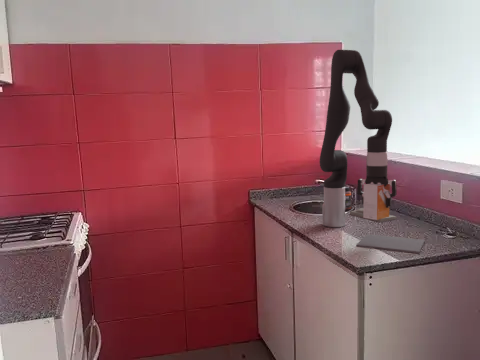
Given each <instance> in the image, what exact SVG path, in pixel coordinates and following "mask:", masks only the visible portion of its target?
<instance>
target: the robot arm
mask: <svg viewBox="0 0 480 360" xmlns="http://www.w3.org/2000/svg"><path fill="white" fill-rule="evenodd" d="M330 65H331V66H330V67H331V68H330V88H329V89H330V90H329V96H328V97H329V98H328V105H327V111H326V121H325V122H326V124H325V130H324V135H323V140H322V141H323V142H322V144H321V145H322V146H321V149H320V153H319V167H320V170H321V171H322V172H324V173H331V175H329V177H326V178H325V180H324V181H323V203H322V207H321V208H322V209H321V211H322V212H321V213H322V215H321V217H322V218H321V220H322V221H321V222H322V226H325V227H329V228H341V227H344V226H346V210H345V187H346V182H347V179H348V177H347V176H348V157H347V156H348V155H347V154H346V152H345V151H344V150H342V149H337V150H336V147H337V142H338V140H339V138H340V136H341V135H342V134H343V131H344V130H345V129H346V128H347V126H348V123H349V120H350V113H351V104H350V101H349V97H348V96H347V94H346V91H345V88H344V85H343V84H344V83H343V82H344V74H352V75H353V76H354V78H355V86H354V88H353V89H354V90H353V92H354V93H353V94H354V97H355V99H356V100H355V101H356V103H357V104H358V106H359V108H360V115H361V123H362V126H363V127H364V128H365V129H367V130H369V131H371V130H372V131H373V130H377V131H376V133H375V134H374V135H371V136H369V137H367V140H366V141H367V142H366V151H367V152H366V162H365V163H366V166H365V167H366V168H365V169H366V171H365V173H366V174H365V175H366V177H365V178H364V179H363V178H359V179H357V191H356V193H357V195H358V196H361V199H362V200H361V202H362V203H361V204H362V205H363V203H364V191H363V186H364V184H378V185H382V184H383V185H384V187H386V185H387V184H388V183H389V184H390V187H391V192H389V190H386V189H385V188H384V187H383V193H384V194H385V195H386V196H387V198H386V208H389V209H390V207H391V206H392V198H395V197H396V196H397V193H398V192H397V180H396V179H393V180H392V179H390V180H389V179H388V164H389V163H388V162H389V161H388V138H389V135H390V132H391V128H392V124H393V117H392V114H391V112H390V111H389V110H387V109H377V108H378V107H379V104H380V102H379V98H378V97H377V95H376V93H375V91H374V89H373V87H372V86H371V83H370V80H369V77H368V73H367V70H366V67H365V66H366V65H365V63H364V59H363V57H362V55H361V53H360V51H358V50H354V49H337V50H335V51H334V52H333V55H332V58H331V64H330Z"/></svg>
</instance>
